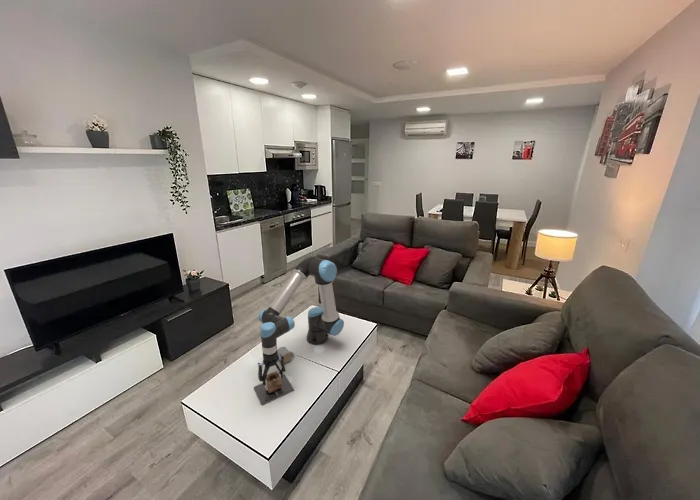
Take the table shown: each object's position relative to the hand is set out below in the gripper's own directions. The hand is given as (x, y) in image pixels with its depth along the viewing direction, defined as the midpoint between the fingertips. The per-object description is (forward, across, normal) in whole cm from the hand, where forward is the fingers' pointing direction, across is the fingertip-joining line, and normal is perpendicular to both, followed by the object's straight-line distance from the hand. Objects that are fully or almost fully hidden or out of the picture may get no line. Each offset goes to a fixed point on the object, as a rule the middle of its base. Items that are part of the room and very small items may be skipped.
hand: (273, 385), depth 159 cm
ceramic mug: (+3, -16, -20) cm, 26 cm away
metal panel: (+3, 0, 0) cm, 3 cm away
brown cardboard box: (0, 0, 0) cm, 0 cm away
